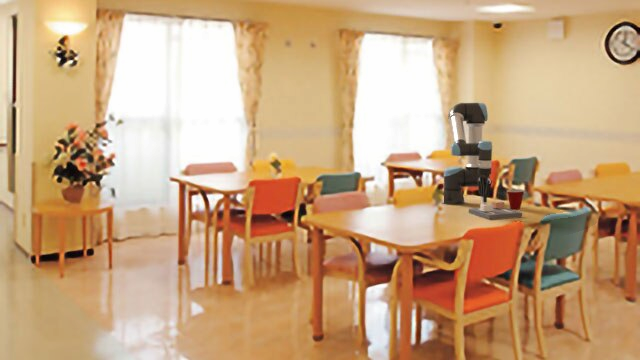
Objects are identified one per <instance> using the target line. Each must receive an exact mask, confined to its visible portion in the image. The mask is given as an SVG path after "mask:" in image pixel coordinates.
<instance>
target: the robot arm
mask: <svg viewBox="0 0 640 360" xmlns="http://www.w3.org/2000/svg"><path fill="white" fill-rule="evenodd" d="M447 120H448V123H449V124H450V129H451V134H452V142H453V143H451V144H450V154H451V156H453V157H454V156H456V157H467V164H466V165H465V168H463V167H462V166H451V167H447V168H445V169H444V171H443V191H442V194H443V195H444V203H443V204H444V205H463V204H465V197H464V194H463V188H464V187H465V188H470V187H471V188H474V187H475V188H478V189H477V191H478V195H479V196H480V205H481V204H488V203H487V202H488V197H489V196H490V195H491V194H490V193H491V187H492V184H493V180H491V178H490V175H492V161H493V160H492V159H493V157H492V154H493V142H492V141H491V140H483V126H485V123H486V122H487V121H488V120H489V118H488V107H487V105H486V104H485V103H484V102H459V103H458V104H457V103H456V104H455V105H454V106H452V108H451V109H449V112H448V115H447ZM464 122H466V124H465V125H467V126H468V138H467V139H468V140H467V139H466V134H465V133H466V132H465V128H464V127H465V126H464ZM467 141H468V143H467Z"/></svg>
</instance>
